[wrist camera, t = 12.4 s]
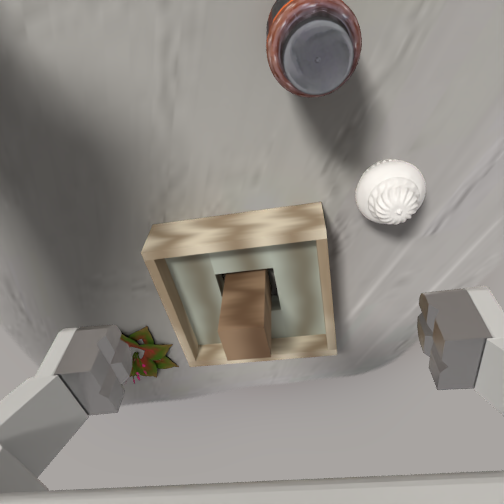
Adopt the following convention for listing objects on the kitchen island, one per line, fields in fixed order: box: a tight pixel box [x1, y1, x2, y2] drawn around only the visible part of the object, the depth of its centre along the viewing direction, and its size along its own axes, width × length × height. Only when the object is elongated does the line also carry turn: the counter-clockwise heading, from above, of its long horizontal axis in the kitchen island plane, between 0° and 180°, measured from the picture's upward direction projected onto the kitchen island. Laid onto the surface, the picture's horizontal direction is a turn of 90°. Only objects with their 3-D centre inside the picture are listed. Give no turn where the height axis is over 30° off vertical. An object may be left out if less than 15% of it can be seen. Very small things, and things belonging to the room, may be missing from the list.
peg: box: [218, 269, 272, 361], centre depth 44 cm, size 4×4×10 cm
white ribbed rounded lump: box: [355, 159, 426, 225], centre depth 37 cm, size 6×6×7 cm
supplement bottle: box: [266, 0, 362, 97], centre depth 28 cm, size 6×6×11 cm
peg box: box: [141, 202, 337, 367], centre depth 46 cm, size 18×18×5 cm
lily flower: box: [120, 327, 179, 384], centre depth 56 cm, size 12×12×5 cm
